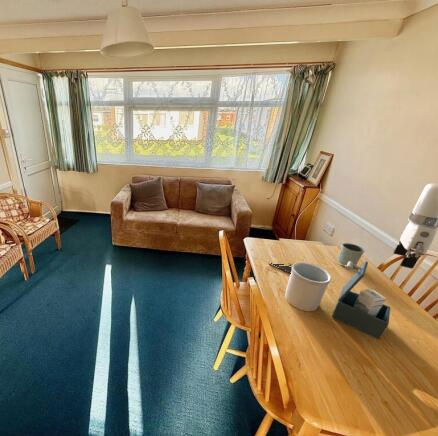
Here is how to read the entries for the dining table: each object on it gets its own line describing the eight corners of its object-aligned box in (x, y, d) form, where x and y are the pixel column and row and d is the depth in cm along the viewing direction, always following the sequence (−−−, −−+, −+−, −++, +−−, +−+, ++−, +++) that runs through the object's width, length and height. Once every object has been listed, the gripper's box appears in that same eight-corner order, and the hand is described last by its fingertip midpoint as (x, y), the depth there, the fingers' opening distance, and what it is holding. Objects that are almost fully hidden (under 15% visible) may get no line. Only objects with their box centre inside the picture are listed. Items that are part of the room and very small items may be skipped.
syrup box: (372, 324, 97) (387, 298, 91) (360, 325, 96) (375, 299, 90) (359, 313, 102) (372, 288, 96) (347, 315, 101) (360, 289, 95)
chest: (381, 322, 99) (390, 306, 95) (379, 339, 91) (388, 324, 88) (337, 302, 109) (343, 288, 106) (331, 317, 101) (338, 302, 98)
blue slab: (368, 262, 97) (352, 254, 100) (364, 275, 89) (347, 266, 92) (345, 288, 105) (331, 280, 109) (339, 301, 97) (325, 293, 101)
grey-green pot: (335, 265, 137) (342, 248, 132) (334, 257, 144) (341, 241, 139) (357, 271, 131) (366, 253, 127) (355, 263, 139) (363, 246, 134)
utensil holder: (307, 317, 101) (319, 286, 94) (276, 296, 113) (285, 267, 106) (325, 305, 107) (338, 276, 100) (294, 286, 119) (304, 258, 112)
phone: (273, 257, 142) (300, 268, 132) (273, 258, 142) (299, 270, 132) (268, 262, 137) (295, 274, 127) (267, 263, 138) (294, 275, 127)
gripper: (453, 231, 70) (424, 276, 77) (431, 213, 83) (409, 253, 90) (418, 225, 74) (394, 268, 81) (403, 209, 87) (383, 247, 94)
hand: (402, 260), depth 86 cm, fingers open, 9 cm apart
